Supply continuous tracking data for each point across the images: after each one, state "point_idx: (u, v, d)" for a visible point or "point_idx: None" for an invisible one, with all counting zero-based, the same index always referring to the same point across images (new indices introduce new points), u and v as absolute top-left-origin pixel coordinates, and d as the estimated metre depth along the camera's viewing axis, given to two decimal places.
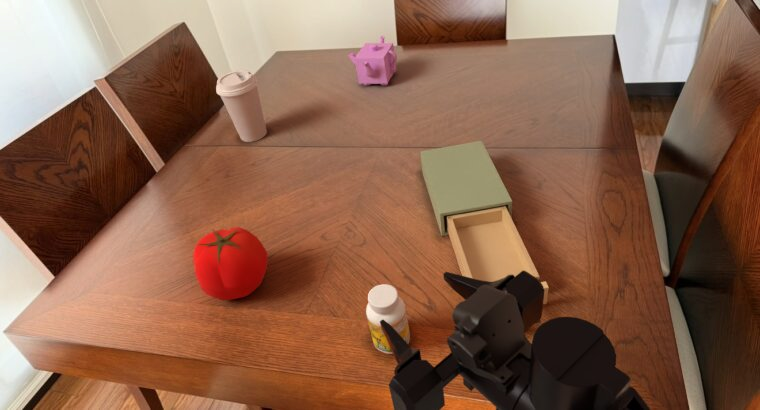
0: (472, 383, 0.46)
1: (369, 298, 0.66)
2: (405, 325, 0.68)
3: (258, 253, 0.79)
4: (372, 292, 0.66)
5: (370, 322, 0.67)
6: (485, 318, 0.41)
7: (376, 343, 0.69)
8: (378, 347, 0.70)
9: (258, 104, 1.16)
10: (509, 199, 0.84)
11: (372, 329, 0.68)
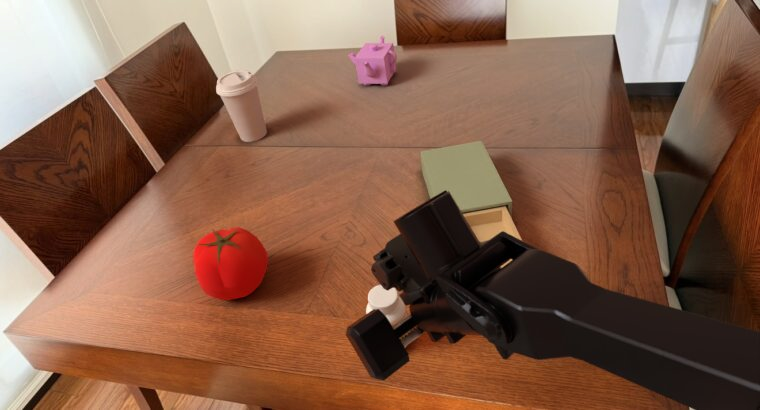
0: (422, 321, 0.51)
1: (369, 298, 0.66)
2: None
3: (258, 253, 0.79)
4: (372, 292, 0.66)
5: None
6: (392, 243, 0.51)
7: None
8: None
9: (258, 104, 1.16)
10: (509, 199, 0.84)
11: None
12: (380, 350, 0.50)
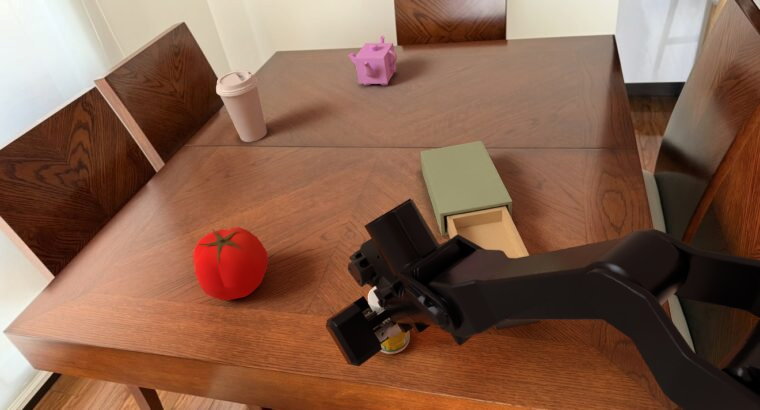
0: (392, 314, 0.57)
1: (369, 298, 0.66)
2: None
3: (258, 253, 0.79)
4: (372, 292, 0.66)
5: None
6: (366, 244, 0.58)
7: None
8: None
9: (258, 104, 1.16)
10: (509, 199, 0.84)
11: None
12: (355, 339, 0.56)
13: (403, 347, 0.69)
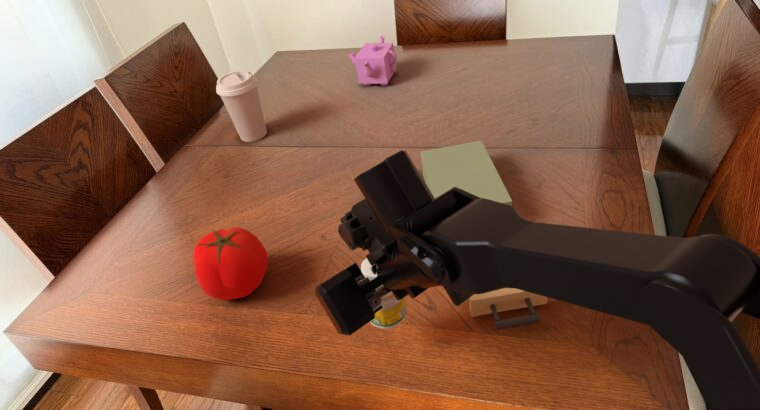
0: (386, 279, 0.53)
1: (362, 268, 0.62)
2: None
3: (258, 253, 0.79)
4: (366, 262, 0.63)
5: None
6: (358, 206, 0.54)
7: None
8: (373, 322, 0.66)
9: (258, 104, 1.16)
10: (509, 199, 0.84)
11: None
12: (346, 306, 0.52)
13: (399, 322, 0.66)
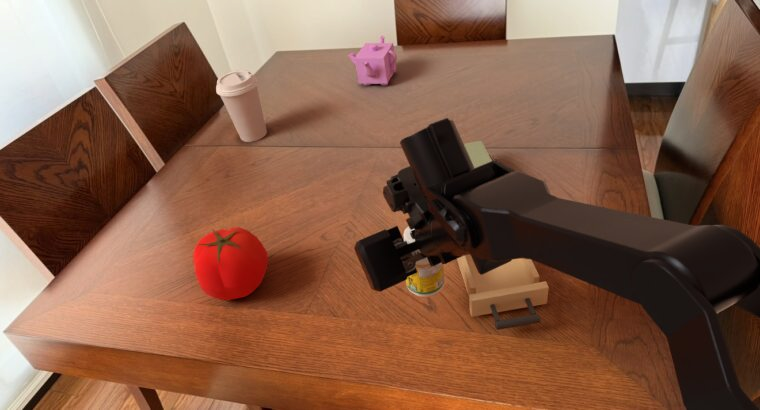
0: (421, 244, 0.55)
1: (405, 234, 0.64)
2: (439, 268, 0.66)
3: (258, 253, 0.79)
4: (409, 229, 0.65)
5: None
6: (405, 171, 0.56)
7: (408, 283, 0.68)
8: (410, 288, 0.68)
9: (258, 104, 1.16)
10: None
11: None
12: (380, 263, 0.55)
13: (435, 292, 0.68)
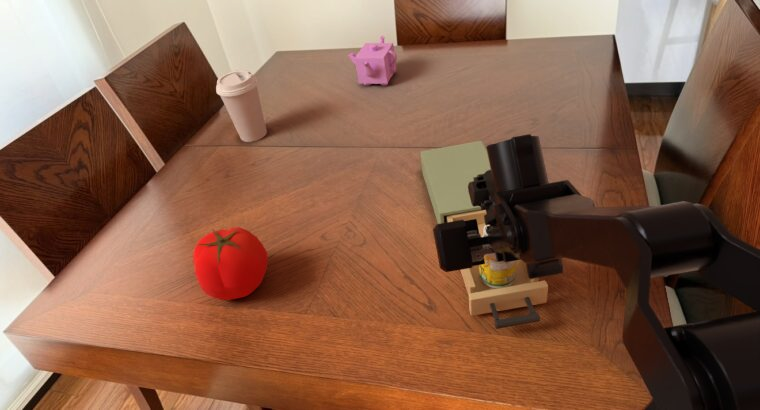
0: (491, 240, 0.61)
1: (485, 227, 0.70)
2: (511, 265, 0.71)
3: (258, 253, 0.79)
4: None
5: None
6: None
7: (480, 272, 0.74)
8: (481, 277, 0.74)
9: (258, 104, 1.16)
10: None
11: None
12: (451, 248, 0.62)
13: (503, 286, 0.73)
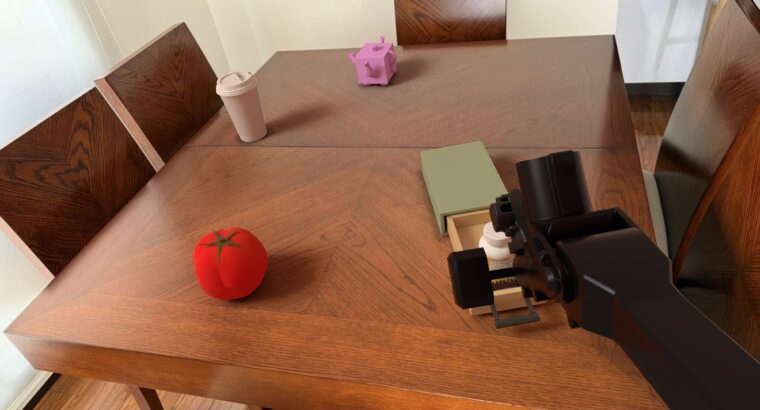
0: (517, 273, 0.52)
1: (485, 227, 0.70)
2: (511, 266, 0.71)
3: (258, 253, 0.79)
4: (491, 224, 0.71)
5: None
6: (517, 191, 0.52)
7: None
8: None
9: (258, 104, 1.16)
10: None
11: None
12: (469, 281, 0.53)
13: None
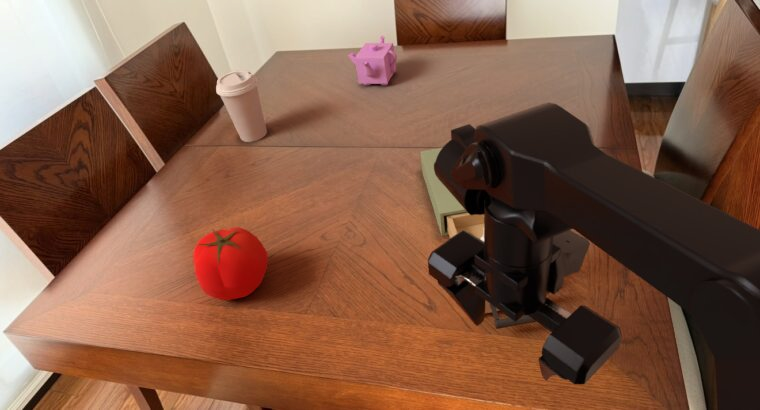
0: None
1: None
2: None
3: (258, 253, 0.79)
4: None
5: None
6: None
7: None
8: None
9: (258, 104, 1.16)
10: None
11: None
12: (453, 246, 0.52)
13: None
